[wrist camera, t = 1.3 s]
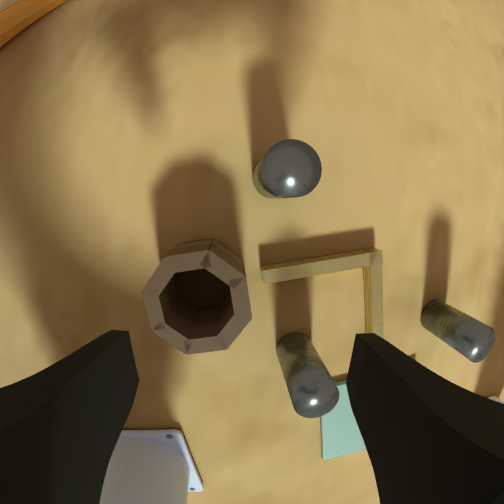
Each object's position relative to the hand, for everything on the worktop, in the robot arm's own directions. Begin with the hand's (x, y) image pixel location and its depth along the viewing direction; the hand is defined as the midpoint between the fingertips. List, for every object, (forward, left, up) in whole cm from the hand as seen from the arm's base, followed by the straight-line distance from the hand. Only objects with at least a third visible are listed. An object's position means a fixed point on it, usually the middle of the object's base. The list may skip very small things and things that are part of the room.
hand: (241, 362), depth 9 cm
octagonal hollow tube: (-2, 0, -10) cm, 10 cm away
